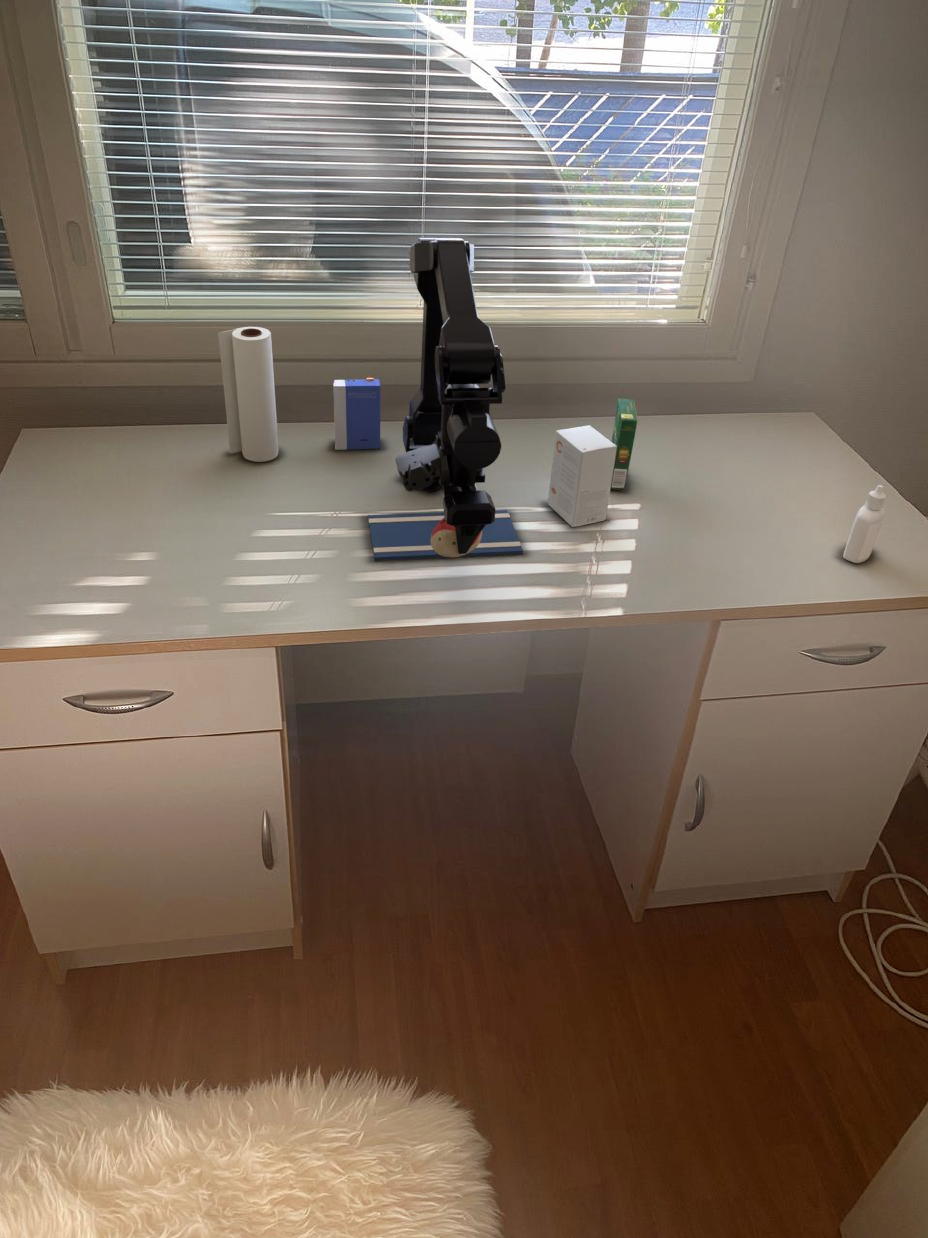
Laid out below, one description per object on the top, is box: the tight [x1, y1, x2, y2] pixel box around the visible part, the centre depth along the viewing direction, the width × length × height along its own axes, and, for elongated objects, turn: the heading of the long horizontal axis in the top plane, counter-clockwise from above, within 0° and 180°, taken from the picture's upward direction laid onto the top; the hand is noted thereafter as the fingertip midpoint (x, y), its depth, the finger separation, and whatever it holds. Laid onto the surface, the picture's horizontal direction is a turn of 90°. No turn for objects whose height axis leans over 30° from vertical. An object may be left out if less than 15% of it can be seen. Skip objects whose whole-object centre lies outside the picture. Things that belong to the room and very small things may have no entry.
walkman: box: [332, 377, 381, 451], centre depth 166 cm, size 8×3×12 cm, turn 99°
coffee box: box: [610, 398, 639, 492], centre depth 161 cm, size 8×3×13 cm, turn 176°
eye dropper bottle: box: [842, 484, 887, 564], centre depth 145 cm, size 4×6×12 cm
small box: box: [547, 425, 617, 528], centre depth 151 cm, size 8×6×13 cm
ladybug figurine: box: [431, 517, 482, 558], centre depth 134 cm, size 7×10×4 cm
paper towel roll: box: [217, 326, 280, 463], centre depth 159 cm, size 7×6×21 cm
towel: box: [367, 509, 524, 562], centre depth 147 cm, size 22×12×1 cm, turn 100°
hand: (457, 535), depth 135 cm, fingers closed on ladybug figurine, 9 cm apart
